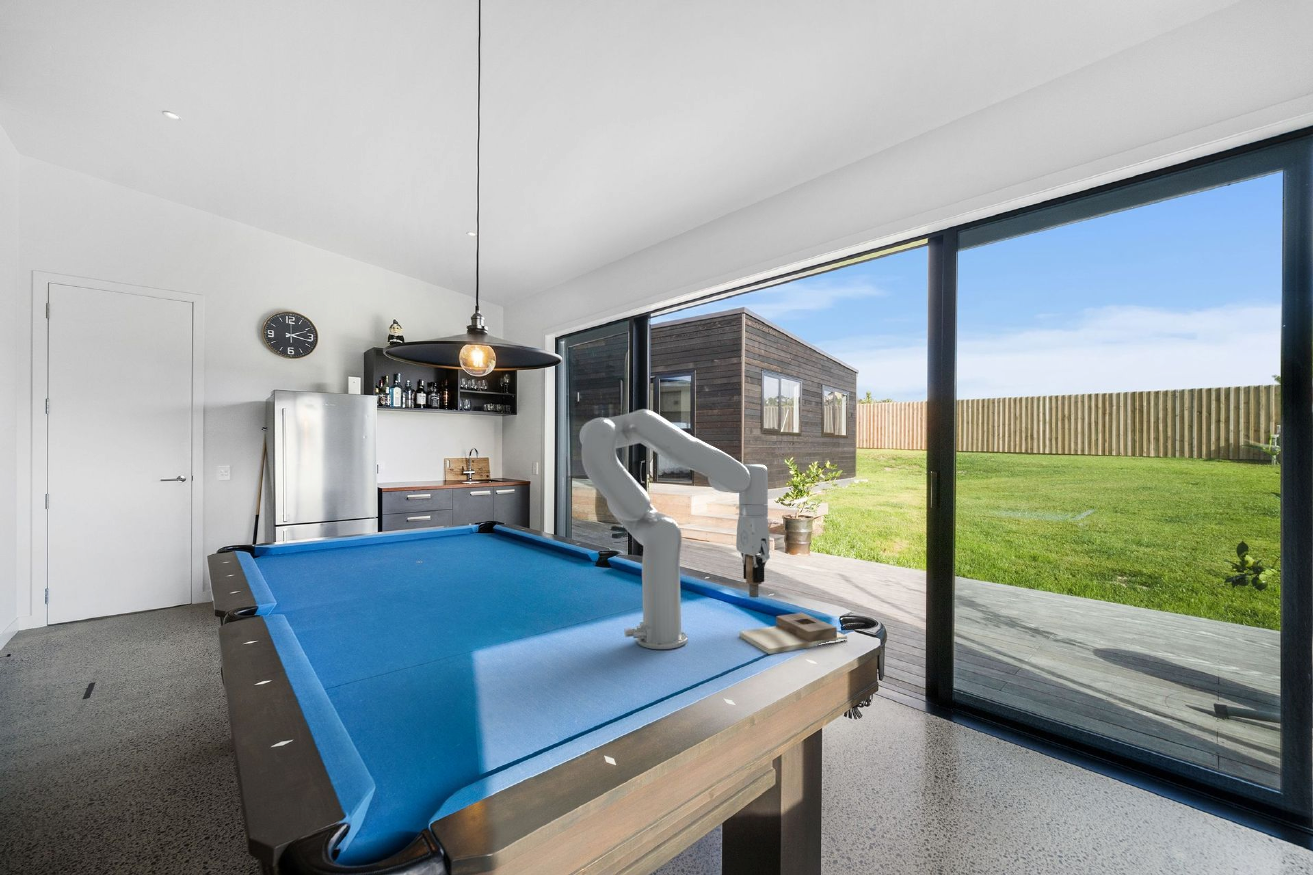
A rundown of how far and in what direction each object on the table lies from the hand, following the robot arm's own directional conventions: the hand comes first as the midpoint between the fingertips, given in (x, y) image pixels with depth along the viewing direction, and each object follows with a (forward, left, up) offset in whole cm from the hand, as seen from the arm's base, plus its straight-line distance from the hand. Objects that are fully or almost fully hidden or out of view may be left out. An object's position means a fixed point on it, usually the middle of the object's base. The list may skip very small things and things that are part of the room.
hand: (753, 579), depth 146 cm
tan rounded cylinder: (0, 0, -4) cm, 4 cm away
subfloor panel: (+5, -10, -13) cm, 17 cm away
